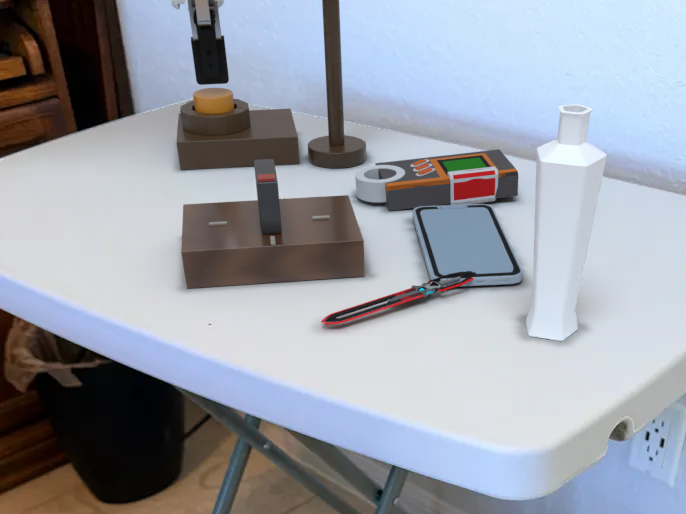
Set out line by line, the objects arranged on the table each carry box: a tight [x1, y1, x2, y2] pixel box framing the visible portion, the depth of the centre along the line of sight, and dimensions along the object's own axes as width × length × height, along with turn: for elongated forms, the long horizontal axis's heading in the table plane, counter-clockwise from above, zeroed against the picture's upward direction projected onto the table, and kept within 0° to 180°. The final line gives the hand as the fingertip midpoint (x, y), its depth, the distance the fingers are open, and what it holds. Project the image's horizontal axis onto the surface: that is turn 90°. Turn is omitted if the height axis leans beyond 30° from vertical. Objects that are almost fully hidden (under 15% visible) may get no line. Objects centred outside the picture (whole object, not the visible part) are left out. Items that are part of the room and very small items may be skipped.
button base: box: [176, 98, 301, 171], centre depth 96 cm, size 12×10×4 cm
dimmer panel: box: [180, 194, 366, 289], centre depth 76 cm, size 14×10×3 cm
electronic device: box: [354, 149, 519, 212], centre depth 87 cm, size 7×3×15 cm
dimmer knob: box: [253, 159, 282, 234], centre depth 74 cm, size 6×2×4 cm, turn 9°
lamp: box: [307, 0, 367, 169], centre depth 88 cm, size 8×8×26 cm
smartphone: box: [412, 203, 524, 288], centre depth 78 cm, size 7×1×15 cm
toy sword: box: [321, 271, 476, 325], centre depth 70 cm, size 2×14×1 cm, turn 124°
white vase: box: [525, 103, 608, 342], centre depth 62 cm, size 5×4×15 cm
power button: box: [192, 87, 235, 114], centre depth 94 cm, size 4×4×2 cm
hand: (213, 81), depth 93 cm, fingers closed
